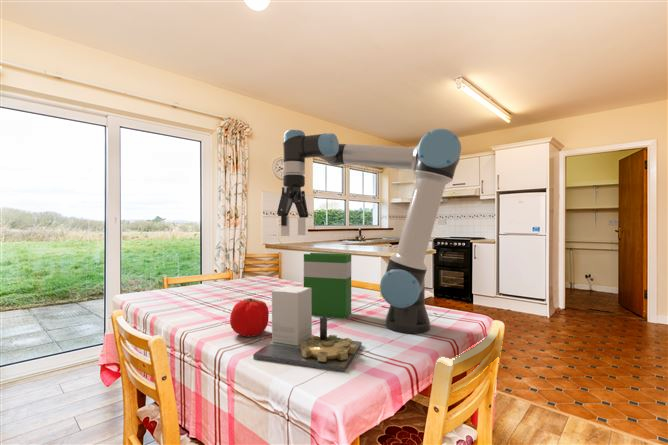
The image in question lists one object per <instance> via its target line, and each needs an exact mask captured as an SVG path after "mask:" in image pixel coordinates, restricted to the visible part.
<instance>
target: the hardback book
mask: <svg viewBox="0 0 668 445" xmlns="http://www.w3.org/2000/svg"><path fill="white" fill-rule="evenodd" d="M303 287H306V288H312V316H316V317H327V318H335V319H337V318H338V319H347V318H348V317H350V315H351V314H352V253H337V252H335V253H334V252H333V253H330V252H329V253H328V252H310V253H304V254H303Z"/></svg>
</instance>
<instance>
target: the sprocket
mask: <svg viewBox="0 0 668 445" xmlns="http://www.w3.org/2000/svg"><path fill="white" fill-rule="evenodd" d="M313 336H314V335H313ZM352 341H353V339H352V338H348V337H345V338H341V337H338V336H337V335H335V334H329V335H328V317H325V316H319V336H318V335H315V336H314V337H311V340H309V341H302V342H301V344H300V350H302V355H303V356H304V357H306V358H307V357H314V358H318V361H323V362H326V361H327V359H339V360H344V359H348V354H349V353H351V354H355V352H356V345H354V344H352Z"/></svg>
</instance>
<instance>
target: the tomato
mask: <svg viewBox="0 0 668 445" xmlns="http://www.w3.org/2000/svg"><path fill="white" fill-rule="evenodd" d="M269 314H270V313H269V308H268V305H267V303H266V302H265V301H263V300H259V299H255V298H245V299H243V300H239V302H238V301H237V303H235V304H234V306H233V307H232V310H231V312H230V318H229V323H230V324H229V325H230V326H231V327H230V328H231V329H232V330H233V332H234V333H236V334H238V335H240V336H244V337H247V338H249V337H256V336H258V335H261V334H262V333H264V332H265V330H266V328H267V326H268V323H269V318H270V316H269Z"/></svg>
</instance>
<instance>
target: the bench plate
mask: <svg viewBox="0 0 668 445" xmlns="http://www.w3.org/2000/svg"><path fill="white" fill-rule="evenodd" d="M312 337H314V335H312ZM309 340H311V337H310V338H309V339H307V340H306V341H309ZM352 344H354V345H356V352H355V354H351V353H349V354H348V359H344V360H339V359H327V361H326V362H323V361H318V358H314V357H307V358H306V357H304V356H303V355H302V350H300V345H298V346H296V345H290V344H283V343H277V342H272V340H271V341H270V342H268V343H267V344H266V345H265V346H263V347H262V348H260V349H259V350H258V351H256V352H255V353H253V359H254V360H259V361H267V362H273V363H279V364H280V363H281V364H285V365H286V364H288V365H294V366H300V367H301V366H302V367H307V368H308V367H309V368H314V369H321V370H327V371H335V372H342V373H345V372H346V370H347V369H348V368H349V366H350V365H351V364H352V361H353V360H354V358H355V357H356V355H357V354H358V352H359V351H360V350H361V348H362V346H363V342H362V341H358V340H352Z"/></svg>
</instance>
